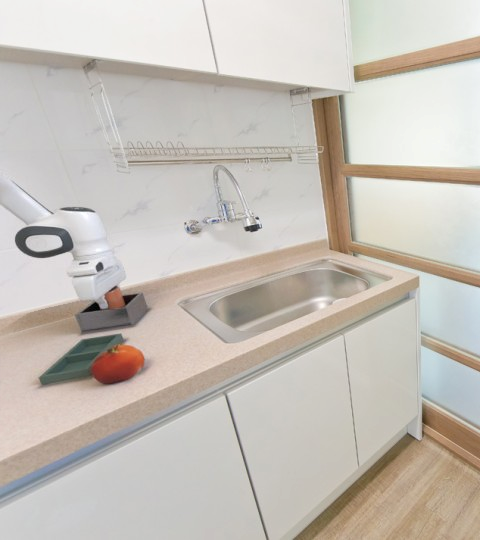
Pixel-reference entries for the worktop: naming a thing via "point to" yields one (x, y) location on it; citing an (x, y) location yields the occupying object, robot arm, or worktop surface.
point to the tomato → (117, 364)
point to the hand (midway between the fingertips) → (111, 302)
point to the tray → (79, 359)
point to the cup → (114, 298)
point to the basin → (112, 315)
